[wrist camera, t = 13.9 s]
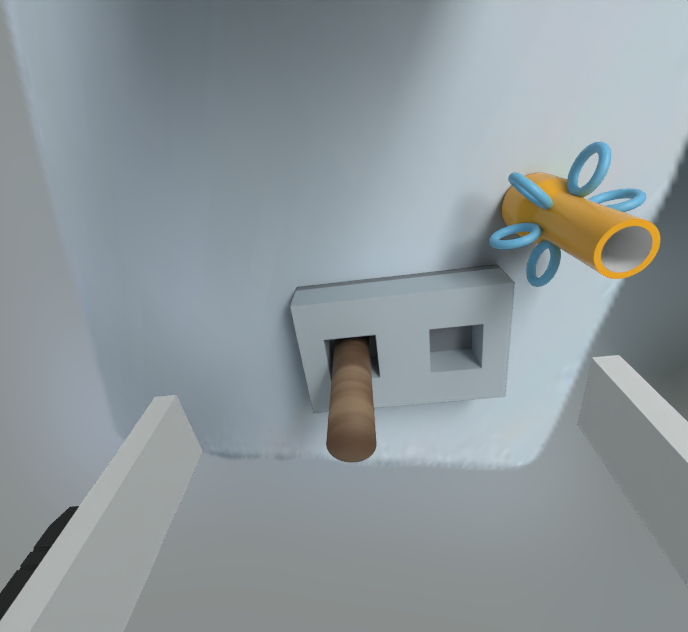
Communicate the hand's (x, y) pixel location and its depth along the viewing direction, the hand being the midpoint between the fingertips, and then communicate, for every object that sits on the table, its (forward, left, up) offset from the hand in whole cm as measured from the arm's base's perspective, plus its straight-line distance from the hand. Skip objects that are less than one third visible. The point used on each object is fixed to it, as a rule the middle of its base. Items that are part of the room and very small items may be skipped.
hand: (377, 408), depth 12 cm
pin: (+14, -3, -29) cm, 32 cm away
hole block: (+14, +3, -30) cm, 33 cm away
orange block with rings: (+1, +17, -30) cm, 34 cm away
